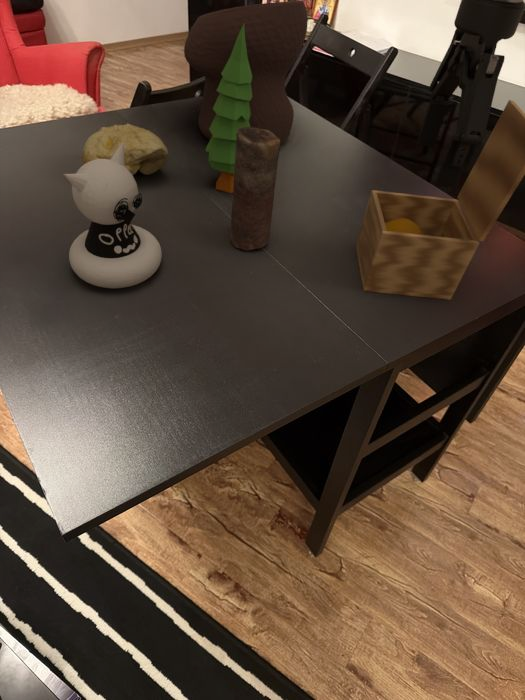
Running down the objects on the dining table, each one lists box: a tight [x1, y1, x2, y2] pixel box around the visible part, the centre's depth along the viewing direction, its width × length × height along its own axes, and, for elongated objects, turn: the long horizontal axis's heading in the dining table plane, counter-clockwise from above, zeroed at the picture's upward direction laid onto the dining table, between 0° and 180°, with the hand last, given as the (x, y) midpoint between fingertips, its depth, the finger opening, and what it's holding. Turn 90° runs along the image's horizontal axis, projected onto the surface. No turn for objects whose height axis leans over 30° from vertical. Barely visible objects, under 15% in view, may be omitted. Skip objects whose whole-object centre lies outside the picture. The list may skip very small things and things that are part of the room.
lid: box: [457, 99, 525, 242], centre depth 74 cm, size 16×14×1 cm
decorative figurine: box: [63, 141, 163, 289], centre depth 74 cm, size 15×15×20 cm
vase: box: [183, 0, 309, 146], centre depth 113 cm, size 27×27×30 cm
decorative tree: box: [205, 24, 252, 194], centre depth 92 cm, size 10×9×30 cm
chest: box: [355, 189, 480, 301], centre depth 84 cm, size 16×14×12 cm
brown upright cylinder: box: [229, 127, 281, 251], centre depth 83 cm, size 8×7×20 cm
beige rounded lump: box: [82, 122, 169, 176], centre depth 99 cm, size 17×11×15 cm
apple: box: [385, 218, 422, 235], centre depth 86 cm, size 9×8×9 cm
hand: (433, 164), depth 73 cm, fingers open, 13 cm apart
